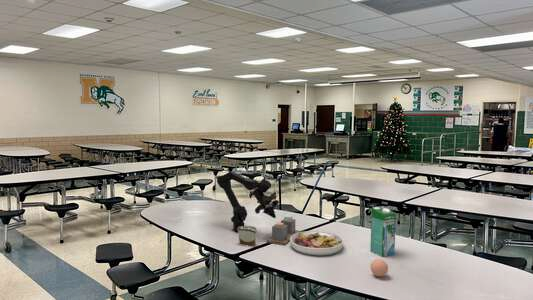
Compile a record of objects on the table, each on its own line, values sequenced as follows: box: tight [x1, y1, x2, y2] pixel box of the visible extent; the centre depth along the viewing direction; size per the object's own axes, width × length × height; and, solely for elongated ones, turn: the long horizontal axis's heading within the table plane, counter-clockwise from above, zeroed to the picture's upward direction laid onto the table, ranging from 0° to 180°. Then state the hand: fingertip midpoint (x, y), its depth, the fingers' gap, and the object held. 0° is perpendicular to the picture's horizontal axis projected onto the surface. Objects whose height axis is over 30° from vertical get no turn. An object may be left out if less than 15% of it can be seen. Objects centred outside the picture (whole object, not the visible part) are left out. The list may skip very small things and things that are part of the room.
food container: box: [237, 225, 258, 248], centre depth 214 cm, size 12×6×10 cm, turn 65°
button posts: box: [271, 218, 296, 241], centre depth 226 cm, size 21×7×8 cm, turn 155°
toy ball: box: [370, 258, 389, 278], centre depth 171 cm, size 8×8×8 cm
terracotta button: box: [275, 221, 284, 227], centre depth 219 cm, size 4×4×3 cm
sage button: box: [283, 214, 293, 221], centre depth 231 cm, size 4×4×3 cm
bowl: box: [289, 230, 344, 256], centre depth 209 cm, size 30×30×8 cm
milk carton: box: [369, 205, 397, 258], centre depth 200 cm, size 9×9×25 cm
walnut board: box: [265, 229, 301, 246], centre depth 226 cm, size 26×12×1 cm, turn 155°
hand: (275, 217), depth 221 cm, fingers closed
